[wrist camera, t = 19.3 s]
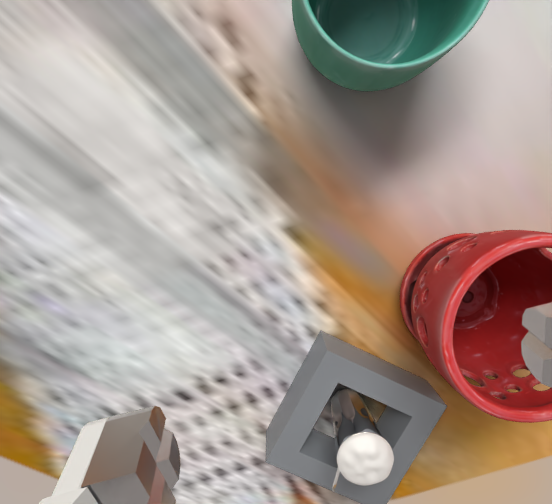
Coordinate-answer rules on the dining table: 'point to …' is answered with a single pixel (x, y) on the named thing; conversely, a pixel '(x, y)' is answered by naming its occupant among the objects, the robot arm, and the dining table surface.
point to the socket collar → (364, 379)
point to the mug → (380, 37)
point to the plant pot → (481, 315)
